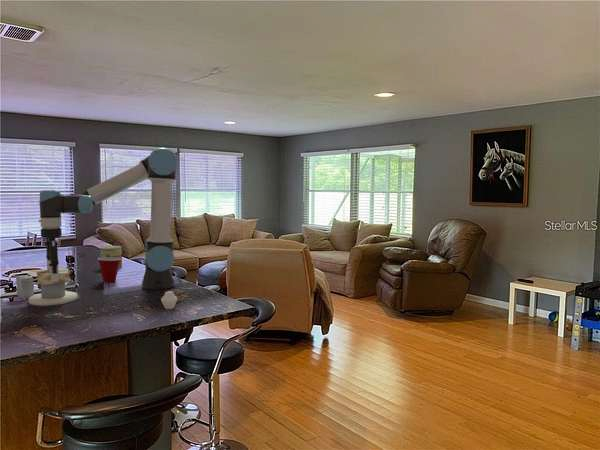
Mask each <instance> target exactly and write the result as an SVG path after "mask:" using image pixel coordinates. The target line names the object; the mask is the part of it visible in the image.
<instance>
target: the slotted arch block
mask: <svg viewBox="0 0 600 450" xmlns="http://www.w3.org/2000/svg"><path fill="white" fill-rule="evenodd" d="M70 275H71V273H70V272H69V270H68V268H66V267H64V268H58V278H59V281H54V282H51V273H49V270H47V269H40V270H36V281H37V283H38V285H39V286H41V285H47V284H57V283H65V284H66V283H67V284H68V283H70V282H71V276H70Z"/></svg>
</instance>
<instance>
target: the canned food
mask: <svg viewBox="0 0 600 450" xmlns="http://www.w3.org/2000/svg"><path fill="white" fill-rule="evenodd" d="M122 247H123V246H120V245H105V246H101V247H100V258H102V257H114V258H121V260H120V262H119V265H118V270H119V269H122V268H123V257H122V256H123V254H122V253H123V251H122V250H123V249H122Z"/></svg>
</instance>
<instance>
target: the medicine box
mask: <svg viewBox="0 0 600 450" xmlns="http://www.w3.org/2000/svg"><path fill="white" fill-rule="evenodd" d="M15 279H16V283H15V284H16V296H17V297H19V298H21V299H22V300H26V299H27V300H28V299H29V297H31V296H33V295H35V293H34V291H35V290H34V289H35V288H34V278H33V277H32V276H30V275H28V274H26V275H19V276H18V275H17V276H16V278H15Z"/></svg>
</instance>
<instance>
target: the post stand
mask: <svg viewBox="0 0 600 450" xmlns="http://www.w3.org/2000/svg"><path fill="white" fill-rule="evenodd" d="M49 273H51V272H50V267H49ZM77 299H78V292H75V291H68V290H66V283H57V284H47V285H40V293H38V294H34V295H33V296H31V297H29V298H28V299H27V301H28V304H29V305H32V306H39V307H43V306H44V307H45V306H46V307H47V306H48V307H49V306H56V305H57V306H59V305H63V304H69V303H72V302H74V301H76V300H77Z"/></svg>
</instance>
